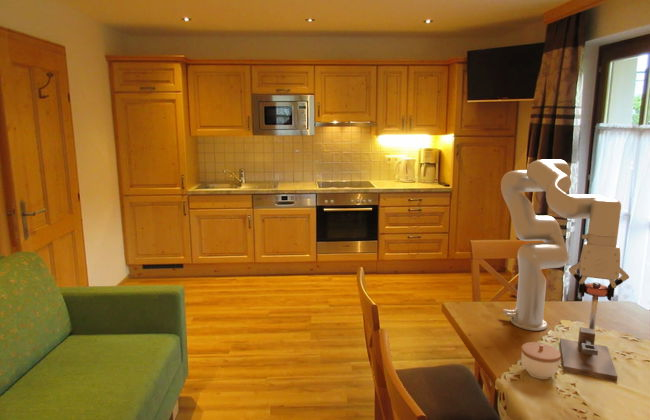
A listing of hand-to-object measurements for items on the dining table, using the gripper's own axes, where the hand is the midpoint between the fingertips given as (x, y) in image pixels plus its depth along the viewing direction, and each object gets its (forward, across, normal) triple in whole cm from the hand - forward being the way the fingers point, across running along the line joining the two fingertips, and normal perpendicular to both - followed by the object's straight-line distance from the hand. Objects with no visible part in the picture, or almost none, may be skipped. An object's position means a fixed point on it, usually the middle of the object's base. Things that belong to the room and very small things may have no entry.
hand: (595, 296), depth 136 cm
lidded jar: (+23, -14, -11) cm, 29 cm away
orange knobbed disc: (+10, 0, 0) cm, 10 cm away
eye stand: (+23, 0, +4) cm, 23 cm away
